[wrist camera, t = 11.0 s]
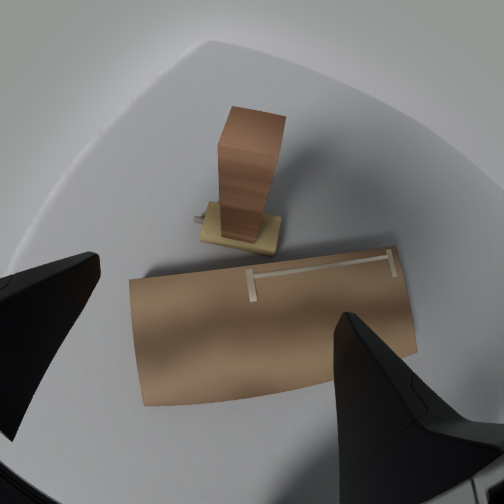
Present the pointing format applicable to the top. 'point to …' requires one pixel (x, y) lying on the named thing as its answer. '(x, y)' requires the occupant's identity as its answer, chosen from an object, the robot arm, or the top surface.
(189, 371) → the tan wooden flat board
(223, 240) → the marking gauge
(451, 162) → the top surface
